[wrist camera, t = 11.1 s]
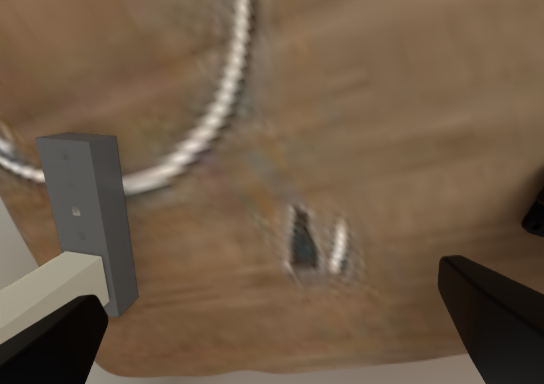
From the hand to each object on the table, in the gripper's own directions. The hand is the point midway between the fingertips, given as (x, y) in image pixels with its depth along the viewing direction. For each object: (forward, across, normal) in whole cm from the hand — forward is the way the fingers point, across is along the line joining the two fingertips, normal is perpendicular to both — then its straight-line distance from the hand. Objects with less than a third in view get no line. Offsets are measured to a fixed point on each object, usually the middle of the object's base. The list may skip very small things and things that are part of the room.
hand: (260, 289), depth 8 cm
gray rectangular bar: (+14, +14, +4) cm, 21 cm away
